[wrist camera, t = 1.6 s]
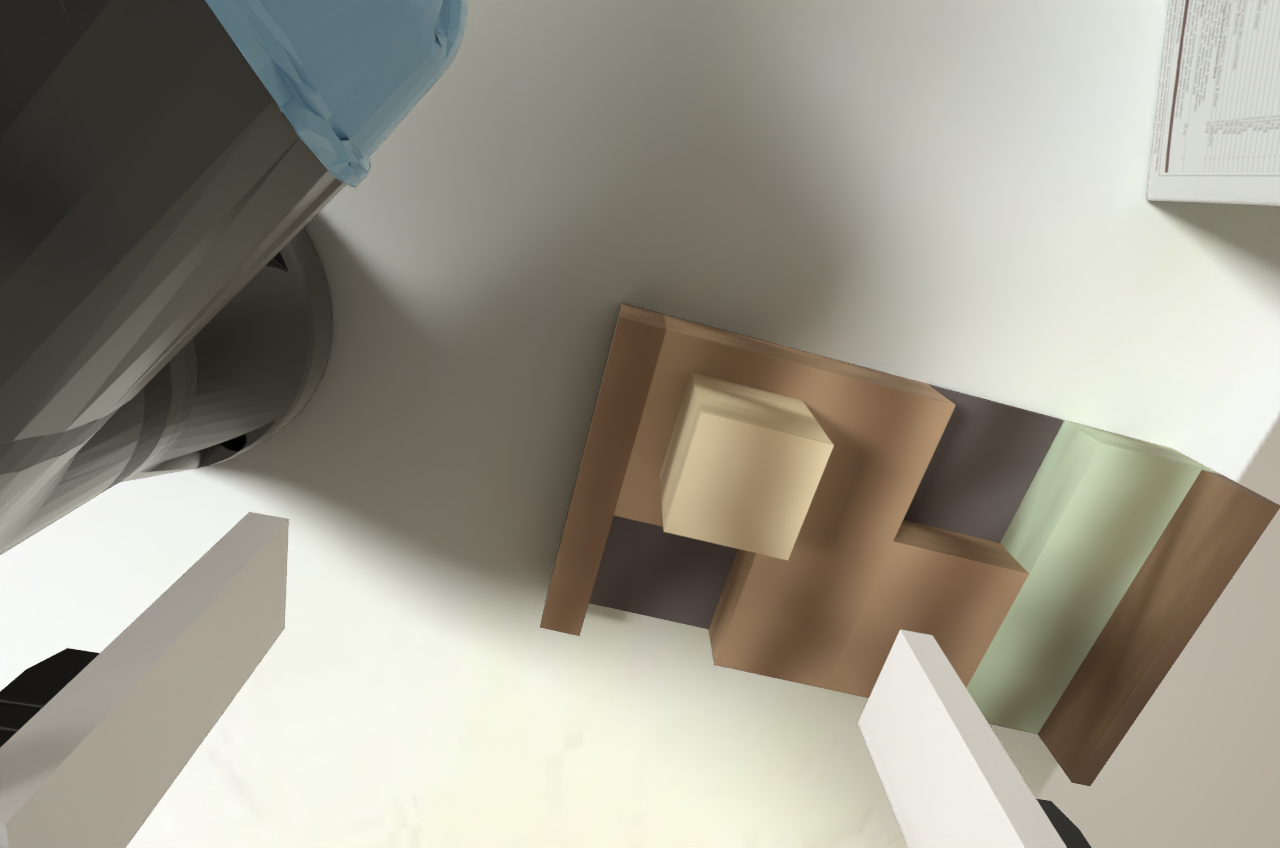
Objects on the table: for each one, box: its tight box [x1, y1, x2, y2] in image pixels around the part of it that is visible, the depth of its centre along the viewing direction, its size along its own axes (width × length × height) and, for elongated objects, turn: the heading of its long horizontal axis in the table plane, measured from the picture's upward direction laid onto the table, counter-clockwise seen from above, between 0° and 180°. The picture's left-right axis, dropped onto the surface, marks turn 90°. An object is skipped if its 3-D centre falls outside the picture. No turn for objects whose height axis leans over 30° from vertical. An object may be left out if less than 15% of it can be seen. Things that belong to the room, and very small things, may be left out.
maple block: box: [660, 372, 834, 560], centre depth 27 cm, size 5×5×5 cm
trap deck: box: [540, 303, 1280, 786], centre depth 32 cm, size 28×16×6 cm, turn 75°
